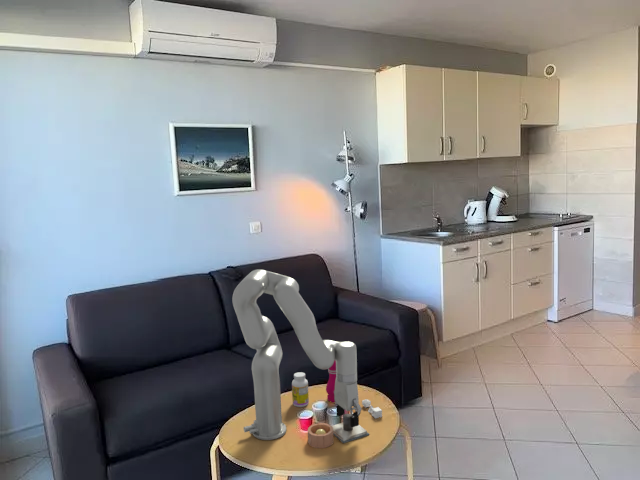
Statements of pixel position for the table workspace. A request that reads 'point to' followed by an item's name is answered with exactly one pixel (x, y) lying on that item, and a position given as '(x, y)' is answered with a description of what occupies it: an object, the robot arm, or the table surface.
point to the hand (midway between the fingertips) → (347, 420)
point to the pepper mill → (331, 382)
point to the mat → (350, 439)
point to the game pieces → (372, 409)
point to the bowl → (320, 435)
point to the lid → (348, 429)
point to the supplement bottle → (300, 390)
